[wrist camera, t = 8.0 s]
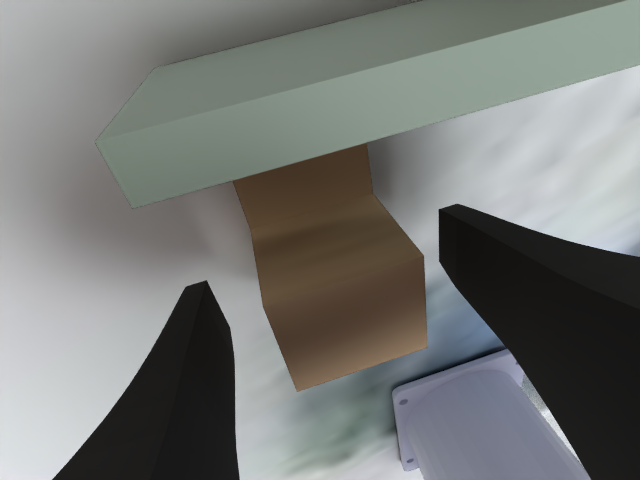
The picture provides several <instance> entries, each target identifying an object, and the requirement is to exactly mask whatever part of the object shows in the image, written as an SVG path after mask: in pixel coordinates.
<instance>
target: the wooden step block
mask: <svg viewBox="0 0 640 480" xmlns="http://www.w3.org/2000/svg"><path fill="white" fill-rule="evenodd" d="M233 183H234V186H235V189H236V192H237V194H238V197H239V200H240V202H241V205H242V208H243V211H244V213H245V216H246V219H247V222H248V224H249V227H250V230H251V236H252V242H253V248H254V255H255V261H256V267H257V273H258V279H259V285H260V291H261V298H262V304H263V308H264V310H265V313H266V315H267V318H268V320H269V323H270V325H271V328H272V330H273V333H274V335H275V338H276V340H277V343H278V345H279V348H280V350H281V353H282V355H283V358H284V360H285V363H286V365H287V368H288V370H289V373H290V375H291V378H292V380H293V383H294V385H295V388H296V390H297V392H298V391H301V390H304V389H307V388H310V387H313V386H316V385H319V384H322V383H325V382H328V381H331V380H334V379H337V378H340V377H343V376H346V375H348V374H351V373H354V372H357V371H360V370H363V369H366V368H369V367H372V366H375V365H378V364H381V363H384V362H387V361H390V360H393V359H396V358H399V357H402V356H405V355H408V354H411V353H413V352H416V351H419V350H422V349H425V348H428V346H427V321H426V296H425V271H424V255H423V254H422V253H421V252H420V250H419V249H418V248H417V247H416V246H415V244H414V243H413V242H412V241H411V239H410V238H409V237H408V236H407V234H406V233H405V232H404V231H403V230H402V228H401V227H400V226H399V225H398V223H397V222H396V221H395V220H394V219H393V217H392V216H391V215H390V214H389V212H388V211H387V210H386V209H385V207H384V206H383V205H382V204H381V203H380V201H379V200H378V199H377V198H376V196H375V195H374V194H373V190H372V182H371V174H370V166H369V158H368V150H367V143H363V144H360V145H356V146H352V147H349V148H345V149H342V150H338V151H335V152H331V153H328V154H324V155H321V156H317V157H314V158H310V159H307V160H303V161H300V162H296V163H293V164H289V165H286V166H282V167H278V168H275V169H271V170H268V171H264V172H261V173H257V174H254V175H250V176H247V177H243V178H240V179H236V180H233Z"/></svg>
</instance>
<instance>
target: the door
mask: <svg viewBox="0 0 640 480" xmlns="http://www.w3.org/2000/svg"><path fill="white" fill-rule="evenodd" d="M638 65H640V0H422V1H418V2H414V3H410V4H406V5H402V6H398V7H394V8H390V9H386V10H382V11H378V12H374V13H370V14H366V15H362V16H358V17H354V18H350V19H347V20H343V21H339V22H335V23H331V24H327V25H323V26H319V27H315V28H311V29H307V30H303V31H299V32H295V33H291V34H287V35H283V36H279V37H275V38H271V39H267V40H263V41H259V42H255V43H251V44H248V45H244V46H240V47H236V48H232V49H228V50H224V51H220V52H216V53H212V54H208V55H204V56H200V57H196V58H192V59H188V60H184V61H180V62H176V63H172V64H168V65H164V66H160V67H156V68H154V69H153V70H152V72H151V73H150V74H149V75H148V77H147V78H146V79H145V80H144V81H143V83H142V84H141V85H140V86H139V88H138V89H137V90H136V91H135V93H134V94H133V95H132V96H131V98H130V99H129V100H128V101H127V102H126V104H125V105H124V106H123V107H122V109H121V110H120V111H119V112H118V114H117V115H116V116H115V117H114V119H113V120H112V121H111V122H110V123H109V125H108V126H107V127H106V128H105V130H104V131H103V132H102V133H101V135H100V136H99V137H98V138H97V140H96V141H95V144H96V146H97V147H98V149H99V151H100V153H101V155H102V156H103V158H104V160H105V162H106V163H107V165H108V167H109V169H110V170H111V172H112V174H113V176H114V177H115V179H116V181H117V183H118V185H119V186H120V188H121V190H122V192H123V193H124V195H125V197H126V199H127V200H128V202H129V204H130V206H131V207H132V209H134V208H138V207H141V206H145V205H148V204H152V203H155V202H159V201H162V200H166V199H169V198H173V197H176V196H180V195H183V194H187V193H190V192H194V191H197V190H201V189H204V188H208V187H212V186H215V185H219V184H222V183H226V182H229V181H233V180H236V179H240V178H243V177H247V176H250V175H254V174H257V173H261V172H264V171H268V170H271V169H275V168H278V167H282V166H286V165H289V164H293V163H296V162H300V161H303V160H307V159H310V158H314V157H317V156H321V155H324V154H328V153H331V152H335V151H338V150H342V149H345V148H349V147H352V146H356V145H360V144H363V143H367V142H370V141H374V140H377V139H381V138H384V137H388V136H391V135H395V134H398V133H402V132H405V131H409V130H412V129H416V128H419V127H423V126H426V125H430V124H434V123H437V122H441V121H444V120H448V119H451V118H455V117H458V116H462V115H465V114H469V113H472V112H476V111H479V110H483V109H486V108H490V107H493V106H497V105H500V104H504V103H508V102H511V101H515V100H518V99H522V98H525V97H529V96H532V95H536V94H539V93H543V92H546V91H550V90H553V89H557V88H560V87H564V86H567V85H571V84H574V83H578V82H582V81H585V80H589V79H592V78H596V77H599V76H603V75H606V74H610V73H613V72H617V71H620V70H624V69H627V68H631V67H634V66H638Z"/></svg>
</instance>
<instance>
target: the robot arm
mask: <svg viewBox="0 0 640 480" xmlns="http://www.w3.org/2000/svg"><path fill="white" fill-rule="evenodd" d="M439 262H440V263H441V265H442V267H443V268H444V270H445V271H446V273H447V275H448V276H449V278H450V279H451V281H452V282H453V284H454V285H455V287H456V288H457V289H458V291H459V292H460V293H461V294H462V295H463V297H464V298H465V299H466V300H467V301H468V302H469V304H470V305H471V306H472V307H473V308H474V310H475V311H476V312H477V313H478V314H479V315H480V317H481V318H482V319H483V320H484V321H485V322H486V323H487V325H488V326H489V327H490V328H491V329H492V330H493V332H494V333H495V334H496V335H497V336H498V337H499V339H500V340H501V341H502V342H503V344H504V345H505V346H506V347H507V349H505V350H502V351H500V352H497V353H494V354H491V355H488V356H485V357H482V358H479V359H476V360H474V361H471V362H468V363H465V364H462V365H459V366H456V367H453V368H450V369H448V370H445V371H442V372H439V373H436V374H433V375H430V376H427V377H424V378H421V379H419V380H416V381H413V382H410V383H407V384H404V385H401V386H399V387H397V388H395V389H394V390H393V392H392V399H393V406H394V413H395V420H396V427H397V434H398V441H399V448H400V455H401V462H402V466H403V469H404V470H405V471H411V470H414V469H417V468H420V471H421V473H422V475H423V477H424V480H640V257H637V256H631V255H626V254H621V253H616V252H611V251H607V250H602V249H598V248H594V247H590V246H585V245H581V244H577V243H574V242H570V241H566V240H563V239H560V238H556V237H553V236H550V235H546V234H543V233H540V232H537V231H534V230H531V229H528V228H525V227H522V226H519V225H516V224H514V223H511V222H508V221H505V220H503V219H500V218H497V217H494V216H492V215H489V214H486V213H483V212H481V211H478V210H475V209H472V208H469V207H466V206H463V205H460V204H455V205H452V206H448V207H445V208H442V209H439ZM524 373H525V374H526V375H527V377H528V378H529V380H530V381H531V383H532V384H533V386H534V387H535V389H536V390H537V392H538V393H539V395H540V396H541V398H542V399H543V401H544V403H545V404H546V406H547V407H548V409H549V410H550V412H551V413H552V415H553V417H554V418H555V420H556V421H557V423H558V425H559V426H560V428H561V430H562V431H563V433H564V434H565V436H566V438H567V439H568V441H569V443H570V444H571V446H572V447H573V449H574V451H575V453H576V454H577V456H578V458H579V459H580V461H581V463H582V465H583V466H584V468H585V469H584V468H583V466H582V465H581V464H580V463H579V461H578V460H577V459H576V457H575V456H574V455H573V454H572V452H571V451H570V450H569V449H568V447H567V446H566V445H565V444H564V442H563V441H562V440H561V438H560V437H559V436H558V435H557V433H556V432H555V431H554V430H553V428H552V427H551V426H550V424H549V423H548V422H547V421H546V419H545V418H544V417H543V416H542V414H541V413H540V412H539V411H538V409H537V408H536V407H535V405H534V404H533V403H532V402H531V400H530V399H529V398H528V397H527V395H526V394H525V393H524V392H523V390H522V389H521V385H522V381H523V376H524ZM52 480H240V479H239V470H238V461H237V451H236V435H235V361H234V351H233V344H232V337H231V331H230V327H229V325H228V323H227V321H226V319H225V317H224V315H223V313H222V311H221V309H220V306H219V304H218V302H217V300H216V298H215V296H214V294H213V292H212V290H211V288H210V286H209V284H208V282H207V280H206V281H203V282H200V283H196V284H193V285H190V286H186V287H185V289H184V291H183V293H182V294H181V296H180V298H179V300H178V302H177V304H176V306H175V308H174V310H173V311H172V313H171V315H170V317H169V319H168V321H167V323H166V325H165V327H164V328H163V330H162V332H161V334H160V335H159V337H158V339H157V341H156V343H155V344H154V346H153V348H152V350H151V351H150V353H149V355H148V356H147V358H146V359H145V361H144V363H143V364H142V366H141V368H140V369H139V371H138V372H137V374H136V376H135V377H134V379H133V380H132V382H131V383H130V385H129V386H128V387H127V389H126V390H125V392H124V393H123V395H122V396H121V397H120V399H119V400H118V401H117V403H116V404H115V405H114V407H113V408H112V409H111V411H110V412H109V413H108V415H107V416H106V417H105V419H104V420H103V421H102V422H101V424H100V425H99V426H98V427H97V428H96V430H95V431H94V432H93V433H92V434H91V436H90V437H89V438H88V439H87V440H86V442H85V443H84V444H83V445H82V446H81V448H80V449H79V450H78V451H77V452H76V453H75V455H74V456H73V457H72V458H71V459H70V461H69V462H68V463H67V464H66V465H65V466H64V467H63V468H62V469H61V470H60V472H59V473H58V474H57V475H56V476H55V477H54V478H53V479H52Z"/></svg>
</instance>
